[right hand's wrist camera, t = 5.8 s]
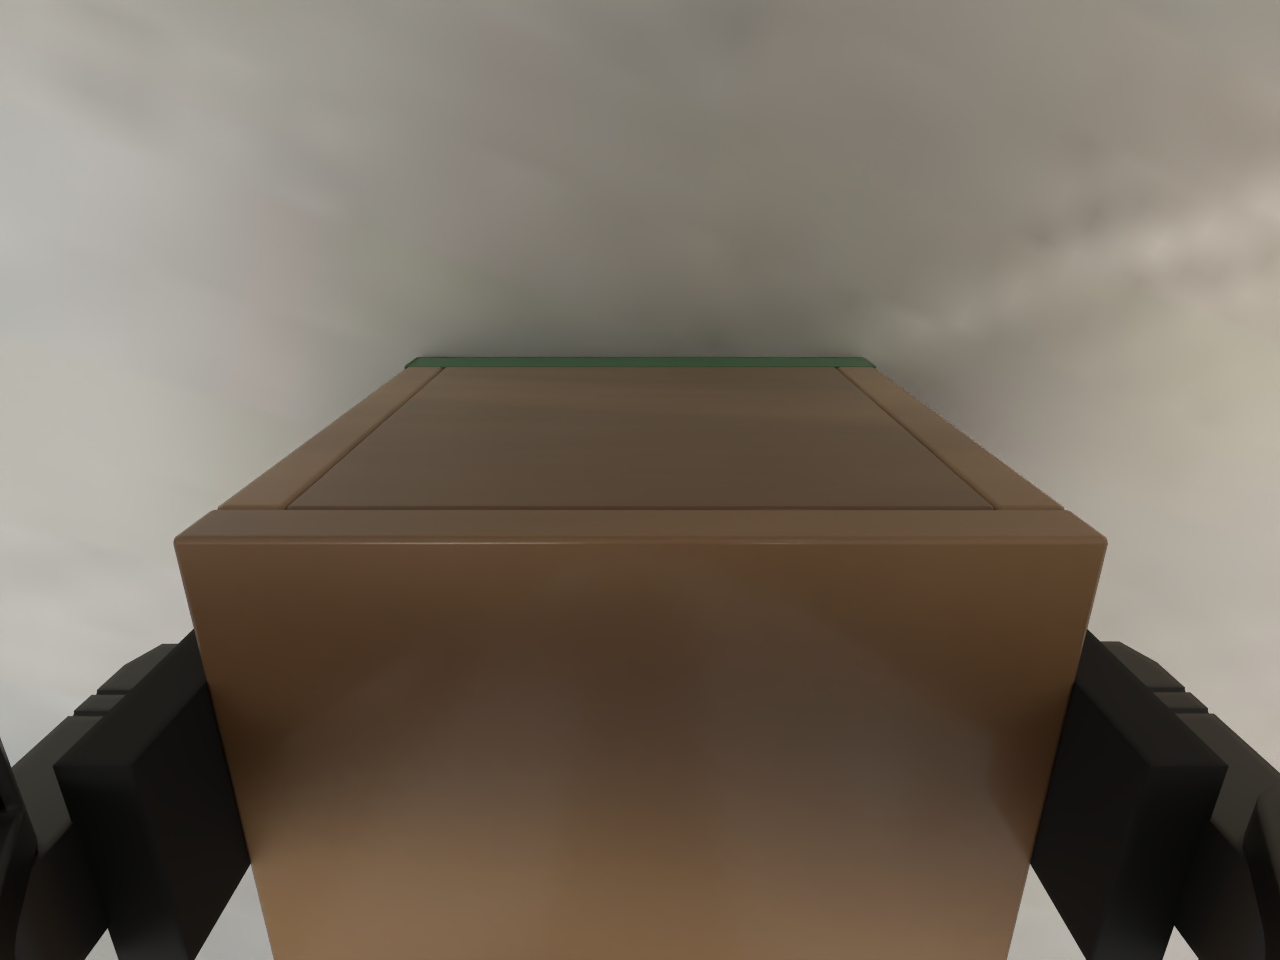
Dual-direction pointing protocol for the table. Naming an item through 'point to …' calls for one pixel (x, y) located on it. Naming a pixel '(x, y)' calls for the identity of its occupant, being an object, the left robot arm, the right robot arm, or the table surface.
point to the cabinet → (640, 667)
